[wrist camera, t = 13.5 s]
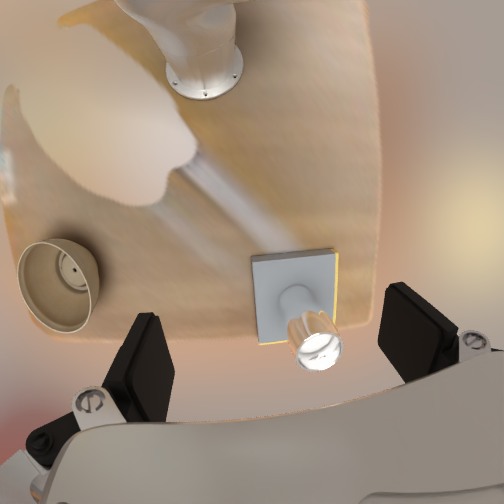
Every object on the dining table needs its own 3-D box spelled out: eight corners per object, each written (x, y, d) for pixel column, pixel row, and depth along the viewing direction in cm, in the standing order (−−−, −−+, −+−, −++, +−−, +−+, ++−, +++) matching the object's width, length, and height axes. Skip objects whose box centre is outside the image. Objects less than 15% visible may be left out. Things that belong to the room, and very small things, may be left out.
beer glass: (321, 304, 48) (352, 355, 34) (287, 324, 49) (307, 380, 34) (303, 274, 46) (333, 321, 32) (268, 296, 47) (284, 349, 32)
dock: (251, 256, 47) (252, 262, 45) (332, 248, 48) (338, 253, 45) (257, 337, 53) (259, 346, 50) (329, 327, 53) (334, 335, 50)
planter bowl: (82, 318, 49) (59, 346, 38) (36, 257, 44) (6, 276, 34) (131, 278, 47) (109, 306, 37) (79, 208, 42) (46, 221, 32)
